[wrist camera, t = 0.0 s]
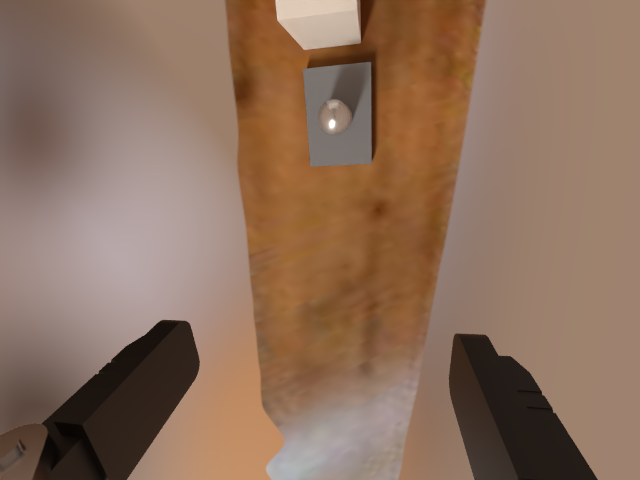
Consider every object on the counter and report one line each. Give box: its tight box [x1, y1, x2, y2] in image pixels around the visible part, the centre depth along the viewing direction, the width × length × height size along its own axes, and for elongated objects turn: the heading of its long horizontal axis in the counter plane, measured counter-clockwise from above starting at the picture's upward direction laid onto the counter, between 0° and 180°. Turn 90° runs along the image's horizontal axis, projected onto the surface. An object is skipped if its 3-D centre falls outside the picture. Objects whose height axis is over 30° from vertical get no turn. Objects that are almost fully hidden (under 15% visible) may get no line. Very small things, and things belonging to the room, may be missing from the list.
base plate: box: [303, 62, 372, 166], centre depth 31 cm, size 10×7×6 cm
